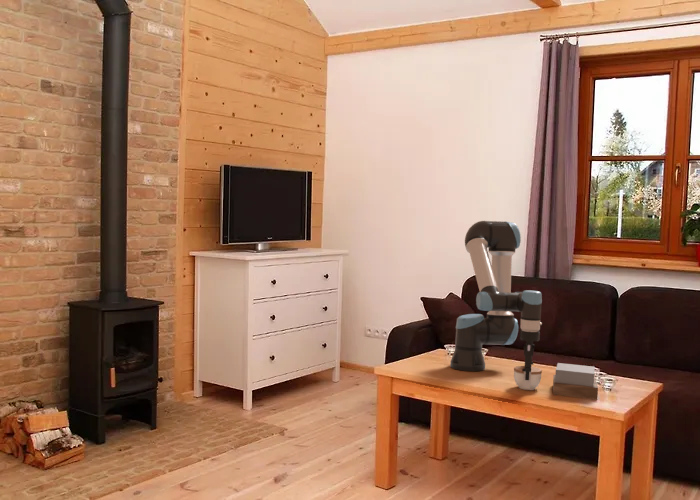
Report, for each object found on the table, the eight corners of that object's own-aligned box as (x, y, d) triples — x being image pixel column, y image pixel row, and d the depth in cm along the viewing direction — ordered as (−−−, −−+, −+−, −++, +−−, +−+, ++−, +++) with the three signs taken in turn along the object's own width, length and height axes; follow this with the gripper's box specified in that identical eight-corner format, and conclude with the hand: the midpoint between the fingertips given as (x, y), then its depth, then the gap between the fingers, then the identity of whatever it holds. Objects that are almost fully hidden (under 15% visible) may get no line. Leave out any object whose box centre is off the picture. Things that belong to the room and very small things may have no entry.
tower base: (552, 387, 297) (553, 374, 296) (594, 391, 292) (595, 378, 292) (553, 396, 281) (553, 383, 281) (597, 400, 277) (598, 387, 277)
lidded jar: (520, 383, 298) (521, 360, 297) (545, 388, 291) (546, 365, 291) (508, 387, 290) (509, 364, 289) (533, 393, 283) (534, 368, 282)
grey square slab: (557, 375, 296) (557, 362, 295) (593, 379, 291) (594, 366, 291) (554, 382, 282) (555, 369, 282) (593, 386, 278) (594, 373, 278)
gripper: (539, 335, 276) (536, 392, 278) (540, 326, 300) (537, 378, 301) (519, 334, 278) (516, 390, 279) (521, 325, 302) (518, 376, 303)
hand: (527, 384), depth 290 cm, fingers open, 12 cm apart
